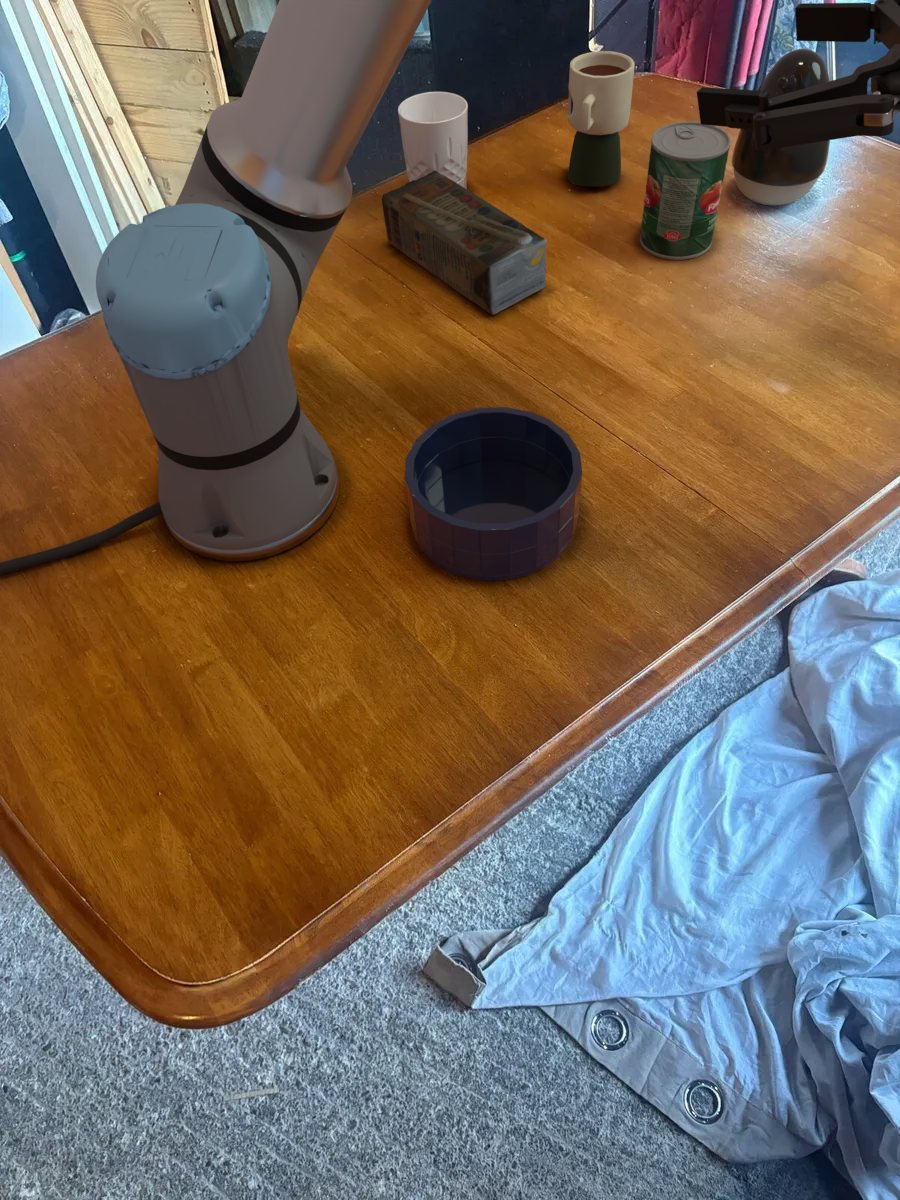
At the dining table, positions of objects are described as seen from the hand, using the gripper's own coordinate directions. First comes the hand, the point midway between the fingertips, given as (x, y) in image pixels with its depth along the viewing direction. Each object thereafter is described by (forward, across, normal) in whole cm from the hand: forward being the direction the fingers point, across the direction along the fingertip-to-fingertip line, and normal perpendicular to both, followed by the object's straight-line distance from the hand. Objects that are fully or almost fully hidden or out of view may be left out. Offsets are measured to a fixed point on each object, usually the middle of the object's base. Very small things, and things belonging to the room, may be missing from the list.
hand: (750, 63), depth 76 cm
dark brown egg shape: (+10, +15, -23) cm, 29 cm away
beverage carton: (+25, -18, -13) cm, 34 cm away
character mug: (+28, +5, -17) cm, 33 cm away
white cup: (+39, -9, -12) cm, 42 cm away
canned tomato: (+12, +1, -20) cm, 23 cm away
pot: (-4, -42, -15) cm, 45 cm away
